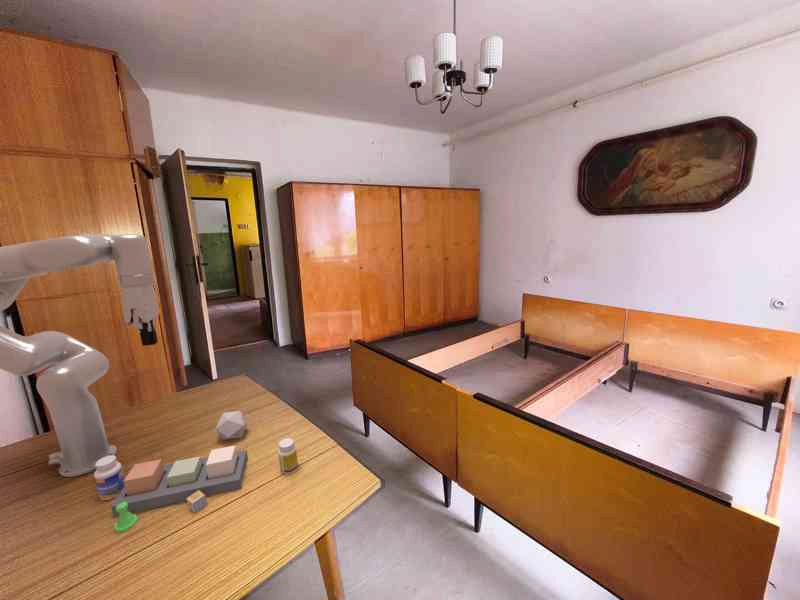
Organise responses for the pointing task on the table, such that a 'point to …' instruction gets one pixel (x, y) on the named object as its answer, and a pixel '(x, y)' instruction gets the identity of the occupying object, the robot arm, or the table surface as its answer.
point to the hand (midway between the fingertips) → (150, 344)
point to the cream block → (221, 462)
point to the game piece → (124, 518)
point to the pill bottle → (109, 477)
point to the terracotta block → (144, 477)
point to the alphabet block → (196, 501)
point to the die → (231, 425)
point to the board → (183, 488)
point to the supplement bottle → (287, 456)
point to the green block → (185, 472)
